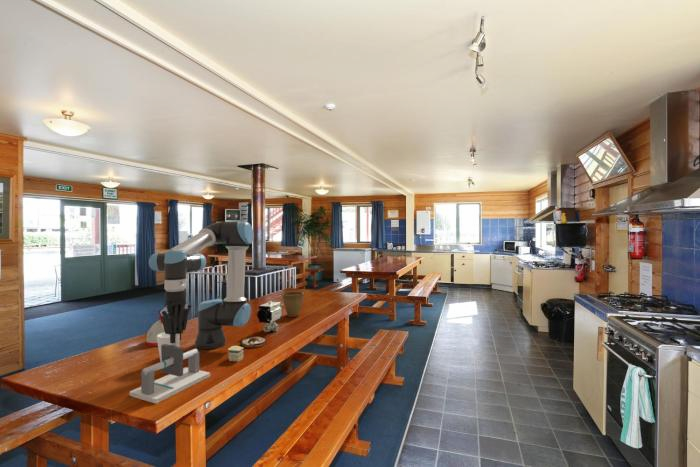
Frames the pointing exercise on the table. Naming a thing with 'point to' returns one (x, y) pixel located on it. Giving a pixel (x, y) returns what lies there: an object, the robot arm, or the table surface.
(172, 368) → the collar
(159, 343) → the foam cup
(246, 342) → the white shallow bowl
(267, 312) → the ball valve
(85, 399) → the table surface
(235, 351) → the beige layered block
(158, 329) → the kitchen timer
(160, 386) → the pipe rig
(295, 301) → the plant pot
